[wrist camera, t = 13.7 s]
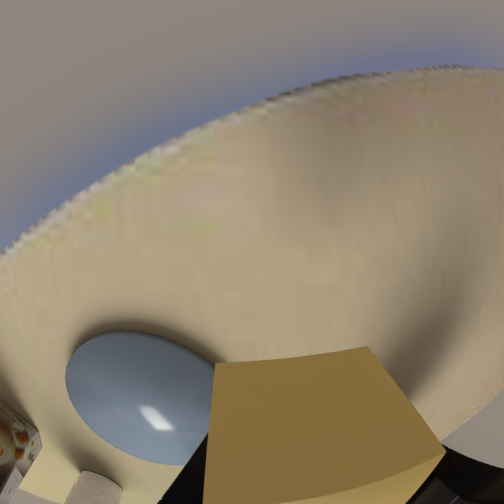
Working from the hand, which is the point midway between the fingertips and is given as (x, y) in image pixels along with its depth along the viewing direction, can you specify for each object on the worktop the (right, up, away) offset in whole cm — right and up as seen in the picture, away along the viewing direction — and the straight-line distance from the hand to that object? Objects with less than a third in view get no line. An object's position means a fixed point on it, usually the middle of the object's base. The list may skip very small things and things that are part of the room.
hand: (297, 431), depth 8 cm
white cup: (-23, -27, +16) cm, 39 cm away
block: (0, 0, +1) cm, 1 cm away
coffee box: (-35, -18, +14) cm, 42 cm away
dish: (-10, -8, +12) cm, 18 cm away
